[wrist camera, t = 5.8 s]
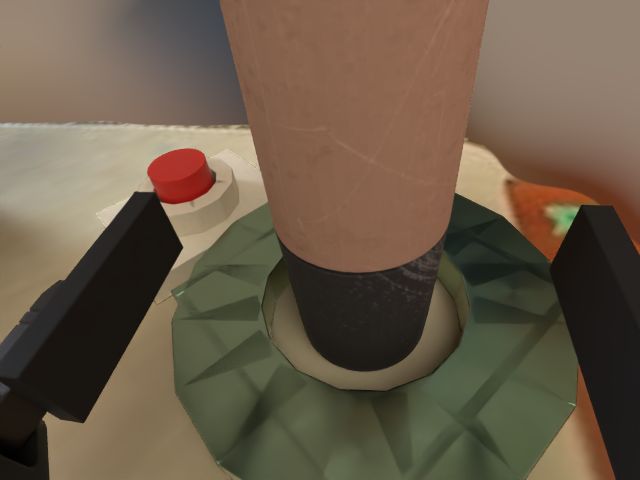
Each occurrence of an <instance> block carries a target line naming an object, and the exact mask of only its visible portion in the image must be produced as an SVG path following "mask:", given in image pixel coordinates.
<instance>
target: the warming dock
mask: <svg viewBox="0 0 640 480" xmlns="http://www.w3.org/2000/svg"><path fill="white" fill-rule="evenodd" d="M550 266H551V263H550V261H549V260H548V259H547V258H546V257H545V256H544V255H543V254H542V253H541V252H540V251H539V250H538V249H537V248H536V247H535V246H534V245H533V244H532V243H530V242H529V241H528V240H527V239H526V238H525V237H524V236H523V235H522V234H521V233H520V232H519V231H518V230H517V229H516V228H515V227H514V226H513V225H512V224H511V223H509V222H508V221H507V220H506V219H505V218H504V217H503V216H501V215H499V214H497V213H495V212H493V211H491V210H489V209H487V208H485V207H483V206H481V205H479V204H477V203H475V202H473V201H471V200H469V199H467V198H465V197H463V196H461V195H459V194H457V193H455V194H454V199H453V205H452V211H451V216H450V221H449V225H448V230H447V234H446V239H445V243H444V247H443V251H442V255H441V260H440V264H439V268H438V272H437V277H438V278H439V280H440V281H441V282H442V284H443V285H444V286H445V288H446V289H447V291H448V292H449V293H450V295H451V296H452V298H453V299H454V300H455V302H456V307H457V312H458V316H459V321H460V326H461V331H462V335H461V338H460V342H459V345H458V347H457V348H456V349H455V350H454V351H453V352H452V353H451V354H450V355H449V356H448V357H447V358H446V359H445V360H444V361H443V362H442V363H441V364H440V365H439V366H438V367H437V368H436V369H435V370H434V371H433V372H432V373H431V374H430V375H427V376H425V377H422V378H419V379H417V380H414V381H411V382H409V383H406V384H403V385H401V386H398V387H396V388H393V389H390V390H388V391H376V390H347V389H338V388H335V387H333V386H331V385H329V384H327V383H324V382H322V381H320V380H318V379H315V378H313V377H311V376H309V375H307V374H304V373H302V372H300V371H298V370H296V369H295V367H294V366H293V365H292V364H291V363H290V362H289V361H288V359H287V358H286V357H285V356H284V355H283V354H282V353H281V351H280V350H279V349H278V348H277V347H276V346H275V345H274V342H273V338H272V334H271V331H270V330H271V324H272V319H273V314H274V309H275V303H276V300H277V298H278V297H279V295H280V294H281V292H282V291H283V289H284V288H285V287H286V285H287V284H288V282H289V281H290V278H289V275H288V272H287V268H286V265H285V262H284V258H283V255H282V252H281V248H280V245H279V242H278V238H277V235H276V231H275V228H274V224H273V220H272V216H271V212H270V208H269V203H268V202H267V203H265V204H264V205H262V206H260V207H258V208H257V209H255V210H253V211H252V212H250V213H248V214H246V215H245V216H243V217H241V218H240V219H238V220H236V221H235V222H233V223H232V224H231V225H230V226H229V227H228V229H227V230H226V231H225V232H224V233H223V234H222V235H221V236H220V237H219V238H218V239H217V240H216V242H215V243H214V244H213V245H212V246H211V247H210V248H209V249H208V250H207V251H206V252H205V253H204V255H203V256H202V257H201V258H200V259H199V260H198V261H197V262H196V263H195V265H194V267H193V270H192V272H191V275H190V277H189V280H187V281H185V282H184V283H182V284H181V285H179V286H177V287H176V288H174V289H172V290H171V293H172V295H173V297H174V298H175V300H176V301H177V303H178V307H177V309H176V312H175V314H174V317H173V319H172V341H173V362H174V383H175V393H176V395H177V397H178V398H179V400H180V402H181V403H182V405H183V407H184V409H185V410H186V412H187V414H188V415H189V417H190V419H191V420H192V422H193V424H194V426H195V427H196V429H197V431H198V432H199V434H200V436H201V438H202V439H203V441H204V443H205V444H206V446H207V448H208V450H209V451H210V453H211V455H212V456H213V458H214V460H215V462H216V463H217V465H218V466H219V467H220V468H221V469H222V470H223V471H224V472H225V473H226V474H228V475H229V476H230V477H231V478H232V479H233V480H526V478H527V477H528V475H529V474H530V472H531V471H532V469H533V468H534V467H535V465H536V464H537V462H538V461H539V459H540V458H541V457H542V455H543V454H544V452H545V451H546V449H547V448H548V447H549V445H550V444H551V442H552V441H553V439H554V438H555V437H556V435H557V434H558V432H559V431H560V429H561V428H562V426H563V425H564V424H565V422H566V421H567V419H568V418H569V416H570V415H571V414H572V412H573V411H574V409H575V407H576V402H577V383H578V364H579V362H578V359H577V356H576V353H575V350H574V347H573V344H572V340H571V337H570V334H569V331H568V328H567V325H566V322H565V319H564V315H563V312H562V309H561V306H560V303H559V300H558V297H557V293H556V290H555V287H554V284H553V281H552V278H551V275H550V272H549V268H550Z"/></svg>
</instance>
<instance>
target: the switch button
mask: <svg viewBox="0 0 640 480" xmlns="http://www.w3.org/2000/svg"><path fill="white" fill-rule="evenodd" d="M147 173H148V176H149V178H150V180H151V182H152V184H153V186H154V188H155V190H156V192H157V194H158V196H159V198H160V199H161V200H162V201H163V202H164V203H168V204H173V205H174V204H180V203H185V202H190V201H193V200H195V199H197V198H198V197H200V196H202V195H204V194H206V193H207V192H208V191H209V190H210V189H211V188H212V186H213V184H214V180H213V177H212V174H211V172H210V169H209V166H208V163H207V161H206V158H205V155H204V154H203V153H202V152H201V151H199V150H196V149H179V150H174V151H171V152H168V153H166V154H163V155H162V156H160V157H158V158H157V159H155V160H154V161H153V162H152V163H151V164H150V166H149V167H148V171H147Z"/></svg>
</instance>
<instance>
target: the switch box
mask: <svg viewBox="0 0 640 480" xmlns="http://www.w3.org/2000/svg"><path fill="white" fill-rule="evenodd" d="M205 158H206V161H207V163H208V166H209V169H210V172H211V174H212V177H213V180H214V184H213V186H212V188H211V189H210V190H209V191H208V192H207V193H206V194H204V195H202V196H200V197H198V198H197V199H195V200H193V201H190V202H185V203H180V204H174V205H173V204H168V203H164V202H163V201H162V200H161V199H160V198H159V196H158V194H157V192H156V190H155V188H154V186H153V184H152V182H151V180H150V178H149V176H148V177H147V178H146V179H145V180H144V181H143V182H142V183H141V184H140V185H139V187H138V191H137V192H155V193H156V195H157V197H158V199H159V201H160V202H161V204H162V206H163V208H164V210H165V212H166V214H167V216H168V218H169V220H170V222H171V224H172V226H173V228H174V230H175V232H176V234H177V235H178V237H179V239H180V241H181V243H182V245H183V247H184V248H183V249H182V251H181V253H180V255H179V257H178V258H177V260H176V262H175V264H174V265H173V267H172V269H171V271H170V272H169V274H168V276H167V278H166V279H165V281H164V283H163V285H162V287H161V288H160V290H159V292H158V294H157V295H156V297H155V299H154V301H155V302H156V304H159V303H160V302H162V301H164V300H165V299H167V298H168V297H170V296H172V293H171V290H172V289H174V288H176V287H177V286H179V285H181V284H182V283H184V282H185V281H187V280H189V277H190V275H191V272H192V270H193V267H194V265H195V263H196V262H197V261H198V260H199V259H200V258H201V257H202V256H203V255H204V253H205V252H206V251H207V250H208V249H209V248H210V247H211V246H212V245H213V244H214V243H215V242H216V240H217V239H218V238H219V237H220V236H221V235H222V234H223V233H224V232H225V231H226V230H227V229H228V227H229V226H230V225H231V224H232V223H233V222H235V221H236V220H238V219H240V218H241V217H243V216H245V215H246V214H248V213H250V212H252V211H253V210H255V209H257V208H258V207H260V206H262V205H264V204H265V203H267V202H268V199H267V195H266V191H265V187H264V183H263V179H262V175H261V171H259V170H258V169H256V168H255V167H254V166H252V165H251V164H249V163H248V162H246V161H245V160H244V159H242V158H241V157H239V156H238V155H237V154H235V153H234V152H232V151H231V150H229V149H226V150H224V151H222V152H220V153H218V154H216V155H214V156H212V157H205ZM130 197H131V196H130ZM130 197H128V198H126V199H124V200H122V201H120V202H118V203H116V204H114V205H112V206H110V207H108V208H105V209H103V210H101V211H99V212H97V213H96V215H97V216H98V218H99V219H100V220H101V222H102V223H103V225H104V226H105V228H107V226H108V225H109V224H110V223H111V221H112V220H113V219H114V218H115V216H116V215H117V214H118V213H119V211H120V210H121V209H122V207H123V206H124V205H125V204H126V202H127V201H128V200H129V199H130Z"/></svg>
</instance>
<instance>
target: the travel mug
mask: <svg viewBox="0 0 640 480" xmlns="http://www.w3.org/2000/svg"><path fill="white" fill-rule="evenodd" d="M219 1H220V5H221V9H222V13H223V17H224V21H225V25H226V30H227V34H228V38H229V42H230V46H231V50H232V55H233V58H234V63H235V67H236V71H237V75H238V79H239V84H240V88H241V92H242V96H243V100H244V104H245V108H246V112H247V117H248V121H249V125H250V129H251V133H252V137H253V141H254V146H255V150H256V154H257V158H258V162H259V166H260V170H261V175H262V179H263V183H264V187H265V191H266V195H267V199H268V203H269V208H270V212H271V216H272V220H273V224H274V228H275V231H276V235H277V238H278V242H279V245H280V248H281V252H282V255H283V258H284V262H285V265H286V268H287V272H288V275H289V278H290V282H291V285H292V288H293V292H294V295H295V298H296V302H297V305H298V308H299V312H300V315H301V318H302V321H303V324H304V327H305V330H306V333H307V335H308V338H309V340H310V341H311V343H312V345H313V346H314V347H315V349H316V350H317V351H318V352H319V353H320V354H321V355H322V356H323V357H324V358H326V359H327V360H328V361H330V362H332V363H334V364H335V365H337V366H340V367H343V368H346V369H350V370H354V371H376V370H381V369H385V368H388V367H390V366H393V365H395V364H397V363H398V362H400V361H402V360H403V359H404V358H405V357H407V356H408V355H409V354H410V353H411V352H412V351H413V350H414V348H415V347H416V345H417V344H418V342H419V340H420V338H421V336H422V333H423V329H424V326H425V322H426V318H427V315H428V310H429V306H430V302H431V298H432V293H433V289H434V285H435V281H436V277H437V272H438V268H439V264H440V260H441V255H442V251H443V247H444V243H445V239H446V234H447V230H448V225H449V221H450V216H451V211H452V205H453V199H454V194H455V188H456V183H457V177H458V171H459V166H460V160H461V154H462V149H463V143H464V137H465V132H466V126H467V120H468V115H469V109H470V104H471V98H472V92H473V87H474V80H475V75H476V70H477V64H478V58H479V53H480V47H481V41H482V36H483V30H484V25H485V19H486V14H487V8H488V2H489V0H219Z"/></svg>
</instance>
